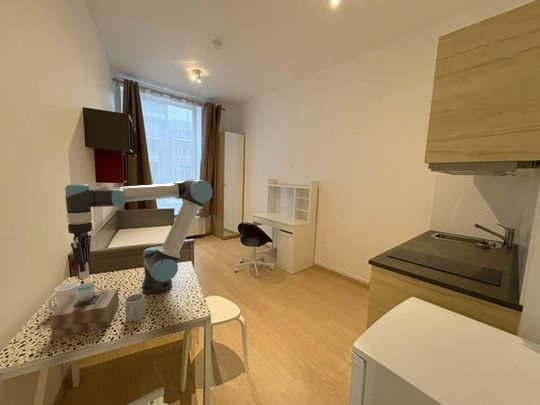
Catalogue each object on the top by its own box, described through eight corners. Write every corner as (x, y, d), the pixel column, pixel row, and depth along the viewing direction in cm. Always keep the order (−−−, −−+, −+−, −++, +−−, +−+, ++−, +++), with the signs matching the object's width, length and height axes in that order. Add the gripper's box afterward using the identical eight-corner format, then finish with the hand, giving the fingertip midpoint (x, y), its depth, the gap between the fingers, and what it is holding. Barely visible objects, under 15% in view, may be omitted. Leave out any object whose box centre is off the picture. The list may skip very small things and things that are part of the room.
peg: (95, 301, 98) (94, 282, 97) (91, 307, 94) (90, 286, 93) (83, 303, 96) (82, 283, 95) (79, 309, 93) (77, 288, 92)
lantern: (66, 292, 119) (60, 237, 116) (84, 284, 128) (79, 232, 125) (81, 294, 117) (76, 238, 114) (98, 285, 127) (93, 233, 123)
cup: (147, 311, 103) (146, 292, 102) (141, 324, 94) (139, 304, 93) (129, 313, 102) (128, 294, 100) (121, 327, 92) (119, 307, 91)
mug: (54, 318, 97) (51, 296, 96) (42, 314, 100) (40, 292, 99) (84, 304, 108) (82, 283, 107) (73, 300, 111) (71, 281, 110)
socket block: (119, 306, 107) (117, 287, 106) (108, 327, 92) (106, 305, 91) (71, 314, 100) (69, 294, 99) (52, 338, 85) (49, 314, 84)
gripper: (76, 219, 96) (80, 272, 98) (60, 226, 84) (65, 286, 86) (97, 219, 99) (100, 270, 101) (84, 225, 86) (89, 283, 89)
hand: (84, 277), depth 94 cm, fingers closed
